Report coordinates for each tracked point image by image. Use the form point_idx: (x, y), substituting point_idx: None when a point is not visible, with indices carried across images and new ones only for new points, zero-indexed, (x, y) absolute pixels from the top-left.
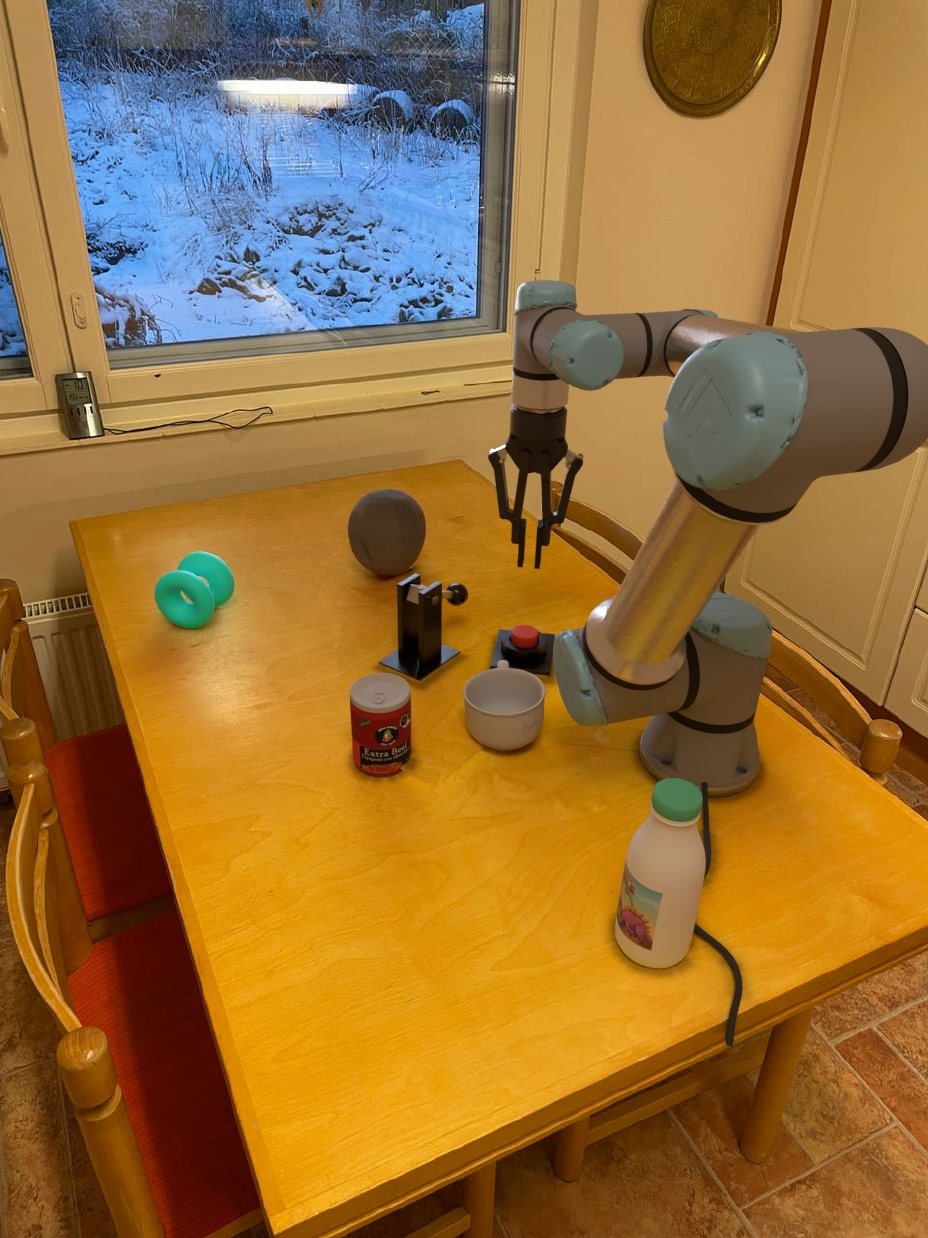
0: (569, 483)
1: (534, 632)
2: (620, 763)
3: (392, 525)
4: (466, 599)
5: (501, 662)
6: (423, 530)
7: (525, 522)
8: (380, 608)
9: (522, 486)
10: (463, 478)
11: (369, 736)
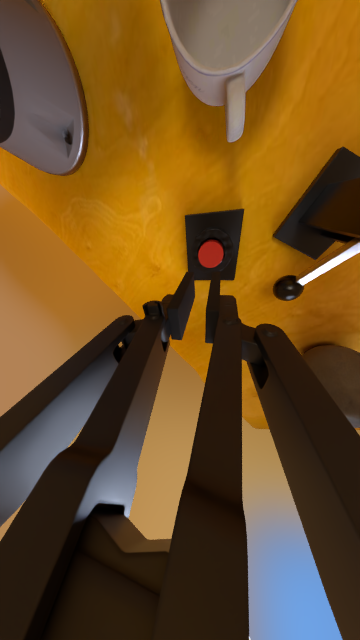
0: (11, 421)
1: (201, 255)
2: (89, 39)
3: (353, 385)
4: (275, 283)
5: (239, 100)
6: None
7: (206, 328)
8: (342, 306)
9: (211, 437)
10: (250, 419)
11: None
